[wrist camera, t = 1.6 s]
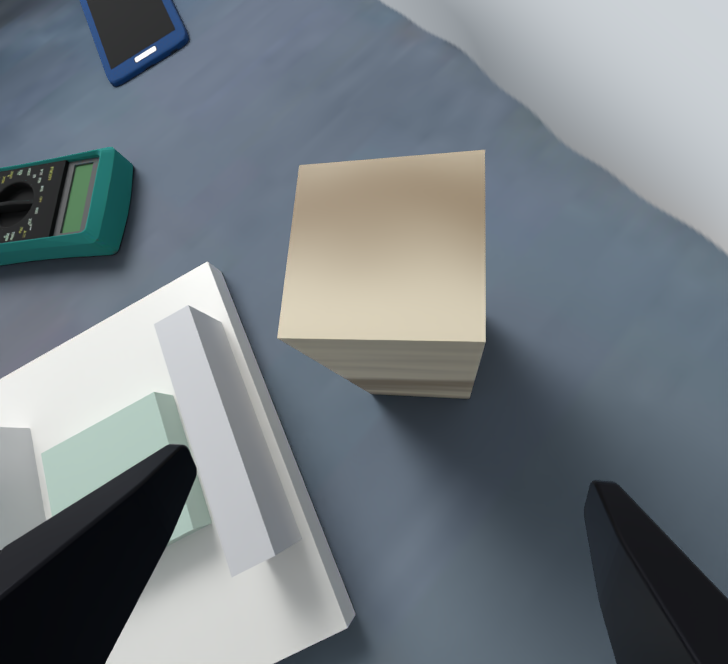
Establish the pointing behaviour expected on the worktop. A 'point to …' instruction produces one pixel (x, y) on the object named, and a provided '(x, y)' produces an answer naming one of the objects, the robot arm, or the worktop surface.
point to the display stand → (210, 489)
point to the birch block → (390, 272)
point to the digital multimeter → (64, 206)
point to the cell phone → (133, 34)
